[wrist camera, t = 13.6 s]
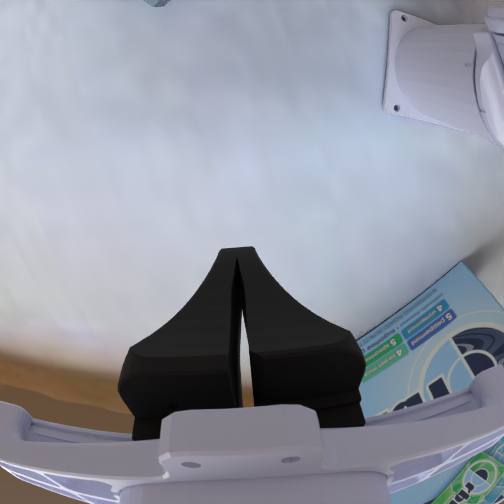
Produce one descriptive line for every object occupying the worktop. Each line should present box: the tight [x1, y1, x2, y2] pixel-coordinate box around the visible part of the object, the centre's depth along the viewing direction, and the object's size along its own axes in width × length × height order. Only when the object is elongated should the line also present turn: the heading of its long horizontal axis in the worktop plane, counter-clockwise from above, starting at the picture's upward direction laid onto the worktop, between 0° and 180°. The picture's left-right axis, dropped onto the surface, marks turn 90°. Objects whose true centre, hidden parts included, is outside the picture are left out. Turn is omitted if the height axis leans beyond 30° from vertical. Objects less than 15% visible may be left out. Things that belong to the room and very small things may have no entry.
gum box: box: [357, 261, 504, 504], centre depth 21 cm, size 20×5×23 cm, turn 133°
